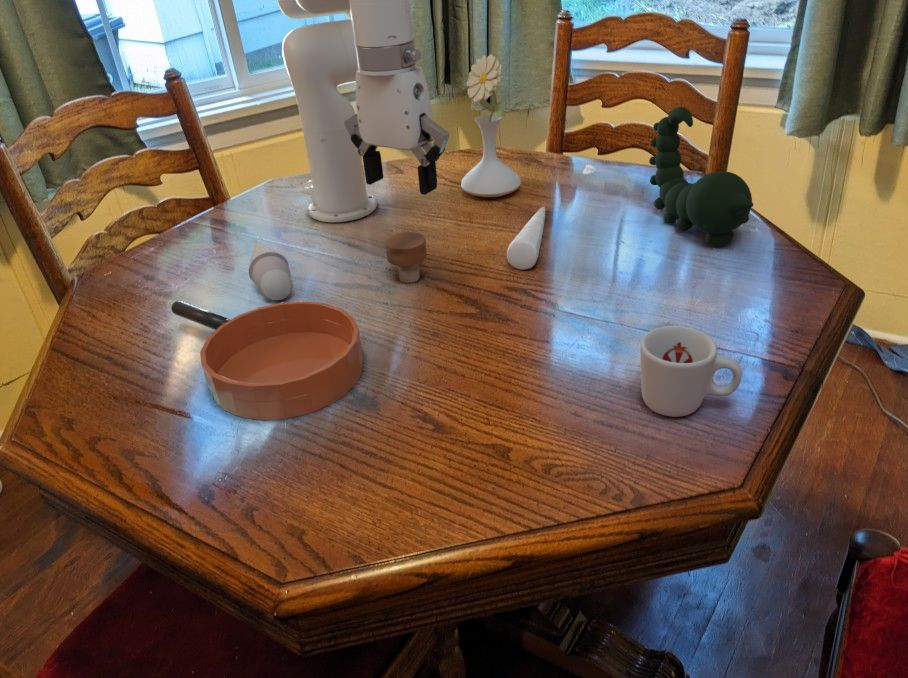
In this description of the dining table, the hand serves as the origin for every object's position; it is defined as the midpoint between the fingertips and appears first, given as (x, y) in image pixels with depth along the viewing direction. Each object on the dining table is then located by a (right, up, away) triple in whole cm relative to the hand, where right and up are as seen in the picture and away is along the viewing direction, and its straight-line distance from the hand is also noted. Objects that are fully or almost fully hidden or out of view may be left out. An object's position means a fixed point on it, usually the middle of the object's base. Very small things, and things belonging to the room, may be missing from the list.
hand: (401, 186), depth 103 cm
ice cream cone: (-21, -13, +10) cm, 27 cm away
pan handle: (-26, -20, -5) cm, 33 cm away
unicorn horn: (+20, -5, +17) cm, 27 cm away
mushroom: (+1, -12, +9) cm, 15 cm away
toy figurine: (+47, -3, +16) cm, 50 cm away
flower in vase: (+15, +8, +35) cm, 39 cm away
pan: (-14, -27, -10) cm, 32 cm away
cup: (+33, -30, -21) cm, 50 cm away
